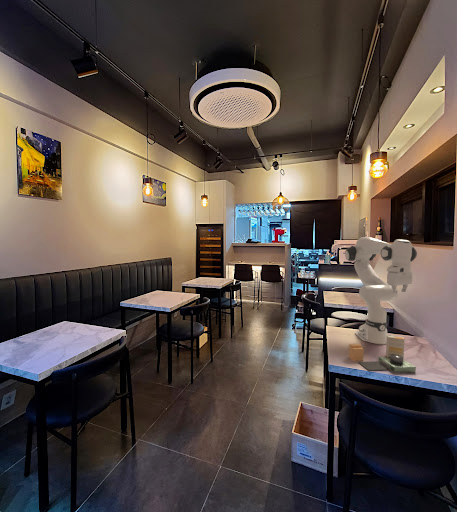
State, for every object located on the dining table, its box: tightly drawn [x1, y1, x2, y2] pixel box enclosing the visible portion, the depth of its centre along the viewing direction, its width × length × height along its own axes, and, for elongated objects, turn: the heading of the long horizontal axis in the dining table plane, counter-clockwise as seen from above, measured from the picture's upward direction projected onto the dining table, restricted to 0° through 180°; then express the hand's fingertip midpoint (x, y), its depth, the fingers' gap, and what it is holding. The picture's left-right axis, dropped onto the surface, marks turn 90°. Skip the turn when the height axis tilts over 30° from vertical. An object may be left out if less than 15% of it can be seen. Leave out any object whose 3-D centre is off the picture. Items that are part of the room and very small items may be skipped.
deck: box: [377, 354, 417, 374], centre depth 136 cm, size 12×12×6 cm
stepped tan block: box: [348, 343, 365, 362], centre depth 144 cm, size 4×6×8 cm
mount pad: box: [357, 360, 389, 372], centre depth 136 cm, size 9×11×1 cm
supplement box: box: [385, 334, 406, 360], centre depth 146 cm, size 8×5×13 cm, turn 66°
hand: (399, 292), depth 141 cm, fingers open, 8 cm apart
